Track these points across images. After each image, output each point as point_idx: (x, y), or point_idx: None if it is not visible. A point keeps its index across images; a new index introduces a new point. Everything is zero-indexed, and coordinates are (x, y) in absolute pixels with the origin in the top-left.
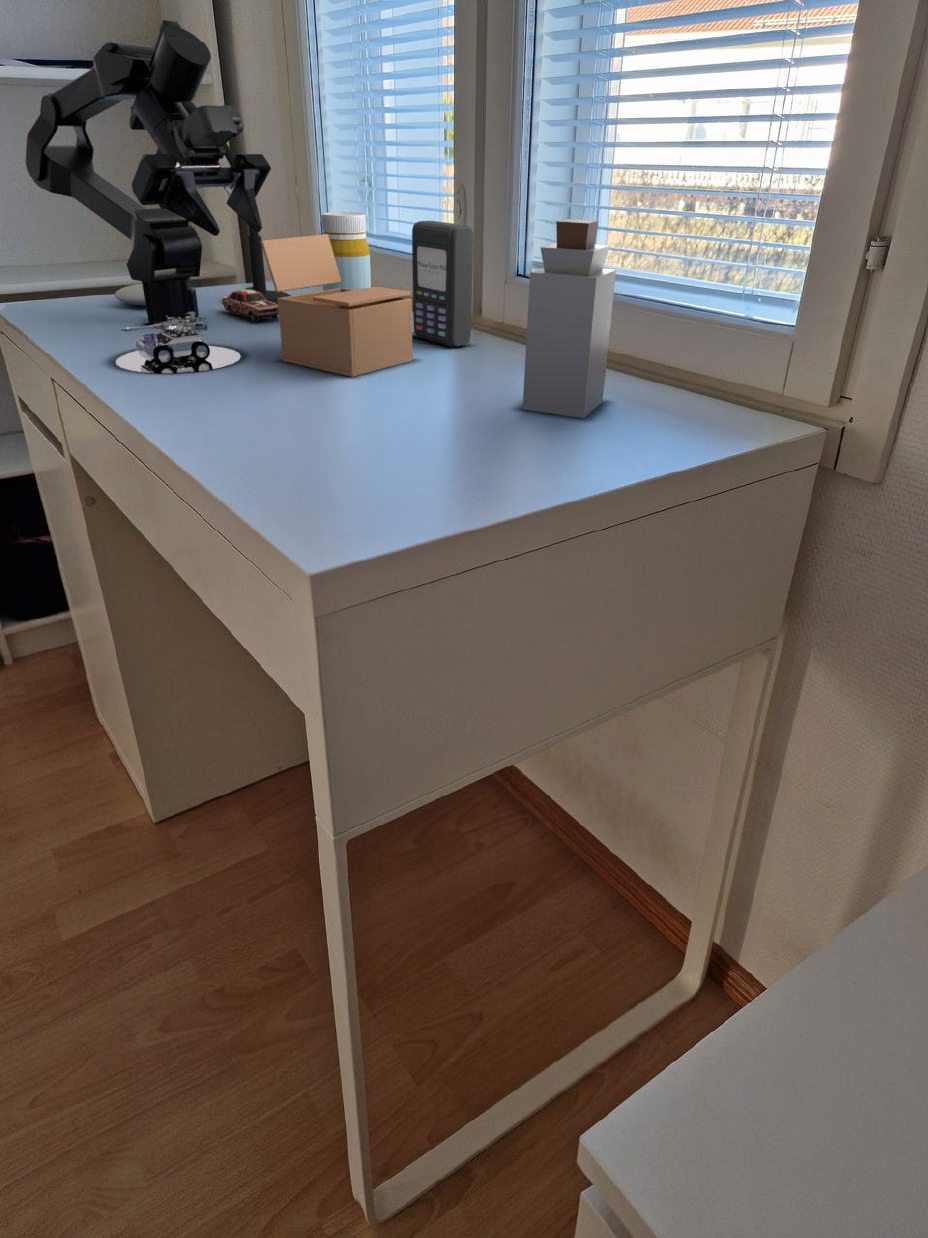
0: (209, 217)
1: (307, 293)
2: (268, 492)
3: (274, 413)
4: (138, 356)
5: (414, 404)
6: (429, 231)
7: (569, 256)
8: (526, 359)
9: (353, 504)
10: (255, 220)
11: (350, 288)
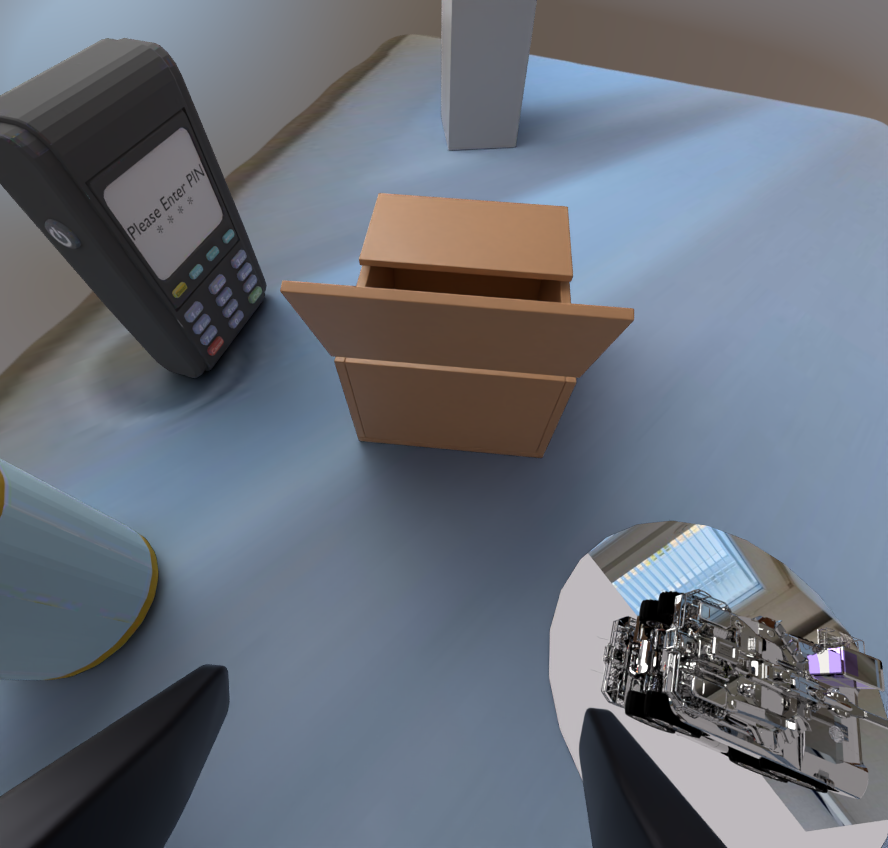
0: (672, 792)
1: (470, 369)
2: (864, 184)
3: (745, 290)
4: (806, 818)
5: (582, 211)
6: (115, 111)
7: None
8: (524, 85)
9: (812, 144)
10: (195, 716)
11: (82, 509)
